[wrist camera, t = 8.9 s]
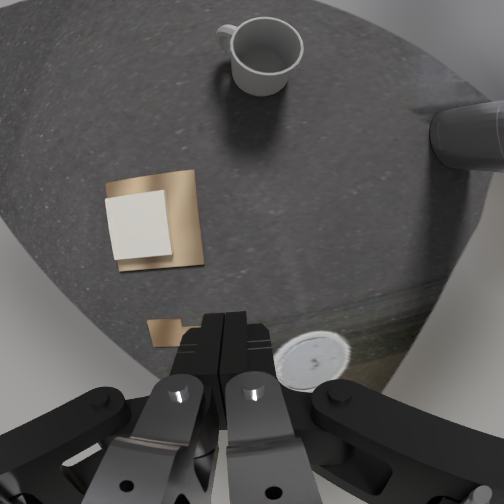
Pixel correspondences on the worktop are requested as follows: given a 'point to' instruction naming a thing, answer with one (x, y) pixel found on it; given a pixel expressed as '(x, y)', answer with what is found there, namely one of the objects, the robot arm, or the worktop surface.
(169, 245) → the tile
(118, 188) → the board
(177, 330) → the tan tapered flat part
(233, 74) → the cup
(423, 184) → the worktop surface
